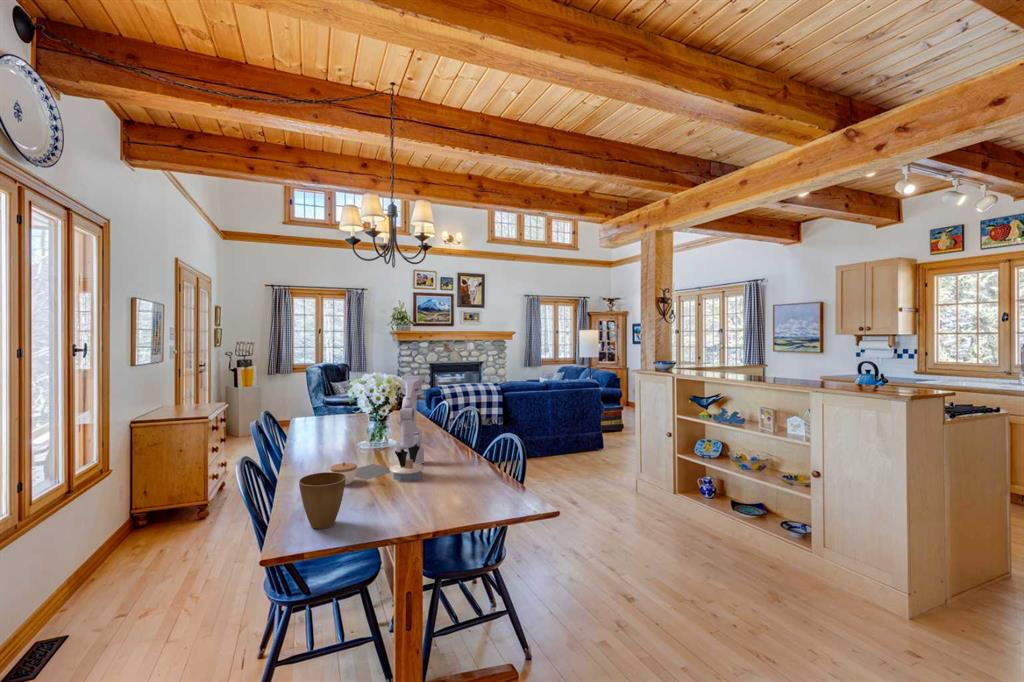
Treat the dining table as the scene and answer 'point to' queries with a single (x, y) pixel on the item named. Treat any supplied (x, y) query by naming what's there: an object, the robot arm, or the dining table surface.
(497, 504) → the dining table surface
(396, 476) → the bowl
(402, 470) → the cover
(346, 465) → the lidded jar
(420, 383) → the robot arm
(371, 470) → the mat
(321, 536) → the dining table surface
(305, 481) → the plant pot
